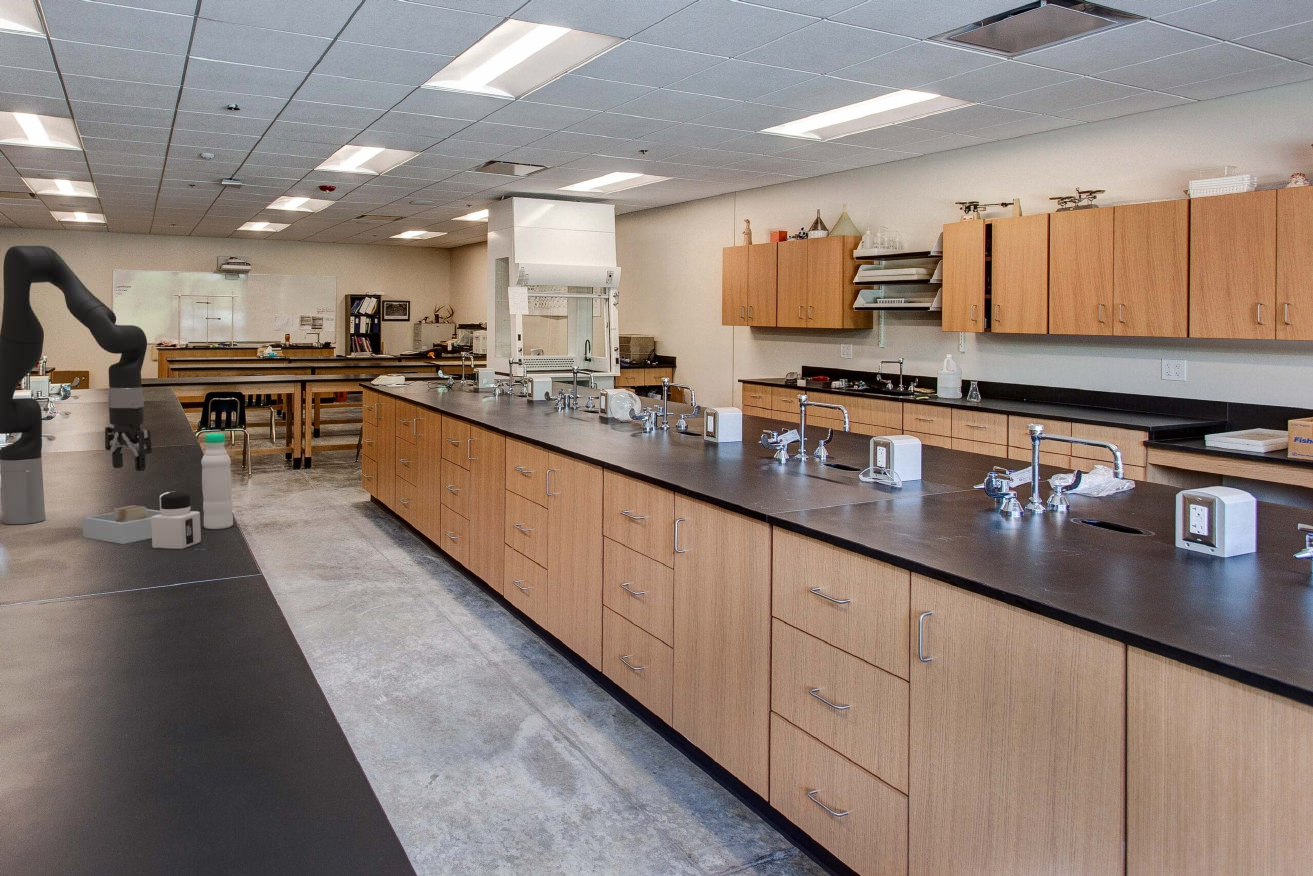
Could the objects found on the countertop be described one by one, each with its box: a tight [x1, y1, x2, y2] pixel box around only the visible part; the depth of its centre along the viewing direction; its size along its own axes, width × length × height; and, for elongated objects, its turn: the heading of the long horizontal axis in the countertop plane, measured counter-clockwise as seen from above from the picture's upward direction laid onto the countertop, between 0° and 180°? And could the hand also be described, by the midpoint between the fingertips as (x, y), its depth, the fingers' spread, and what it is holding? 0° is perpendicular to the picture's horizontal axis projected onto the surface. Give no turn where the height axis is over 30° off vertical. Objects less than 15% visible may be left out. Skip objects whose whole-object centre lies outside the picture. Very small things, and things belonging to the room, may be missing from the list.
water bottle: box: [200, 432, 234, 530], centre depth 236 cm, size 7×7×25 cm
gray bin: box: [82, 508, 162, 545], centre depth 227 cm, size 15×15×5 cm
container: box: [151, 490, 202, 550], centre depth 216 cm, size 8×8×13 cm
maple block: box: [114, 504, 147, 523], centre depth 226 cm, size 5×5×6 cm
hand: (129, 469), depth 225 cm, fingers open, 8 cm apart
